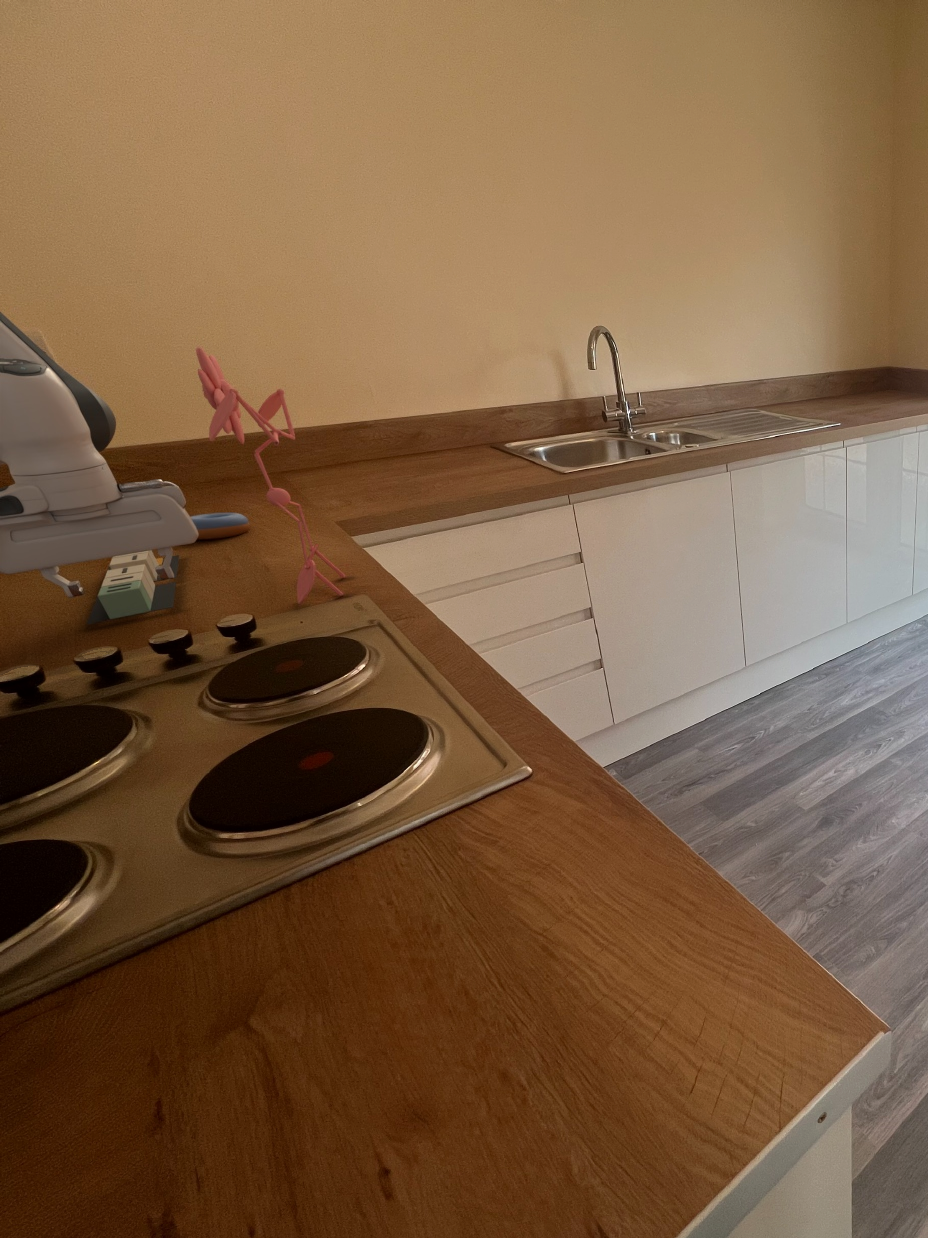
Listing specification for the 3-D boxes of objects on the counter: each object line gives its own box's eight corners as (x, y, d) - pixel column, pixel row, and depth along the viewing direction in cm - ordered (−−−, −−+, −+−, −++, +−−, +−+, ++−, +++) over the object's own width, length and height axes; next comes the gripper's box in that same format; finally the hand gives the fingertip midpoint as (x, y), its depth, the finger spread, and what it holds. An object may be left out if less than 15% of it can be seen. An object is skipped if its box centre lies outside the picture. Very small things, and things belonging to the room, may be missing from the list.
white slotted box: (113, 609, 100) (100, 585, 99) (116, 601, 103) (103, 577, 101) (152, 602, 103) (140, 578, 101) (153, 594, 105) (142, 571, 104)
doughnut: (239, 527, 139) (230, 504, 137) (262, 534, 134) (252, 511, 132) (177, 540, 131) (166, 517, 129) (198, 548, 127) (187, 524, 125)
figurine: (353, 561, 119) (275, 341, 104) (347, 612, 100) (250, 349, 84) (241, 579, 112) (139, 345, 97) (210, 638, 93) (76, 355, 77)
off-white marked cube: (123, 579, 111) (111, 557, 110) (125, 572, 114) (114, 550, 113) (158, 572, 114) (147, 551, 112) (159, 566, 117) (149, 545, 115)
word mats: (88, 628, 96) (85, 623, 96) (110, 570, 117) (108, 566, 117) (174, 610, 101) (172, 606, 101) (180, 558, 122) (179, 554, 122)
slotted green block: (110, 619, 97) (96, 595, 95) (113, 610, 100) (100, 586, 98) (150, 611, 99) (138, 587, 98) (152, 602, 102) (140, 579, 101)
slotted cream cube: (120, 586, 108) (108, 564, 107) (122, 579, 111) (111, 557, 110) (156, 580, 111) (145, 558, 109) (158, 573, 114) (147, 551, 112)
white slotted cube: (116, 600, 103) (104, 577, 102) (118, 592, 106) (106, 569, 105) (154, 593, 106) (142, 570, 104) (155, 585, 109) (144, 563, 107)
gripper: (175, 473, 100) (217, 563, 106) (-36, 499, 89) (25, 599, 95) (174, 480, 96) (218, 574, 102) (-48, 509, 84) (16, 613, 90)
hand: (123, 586), depth 98 cm, fingers open, 8 cm apart
